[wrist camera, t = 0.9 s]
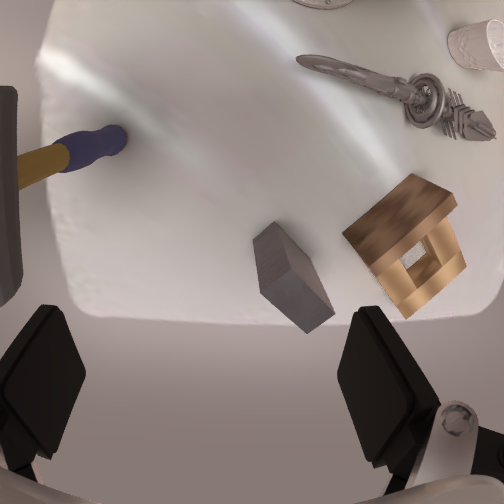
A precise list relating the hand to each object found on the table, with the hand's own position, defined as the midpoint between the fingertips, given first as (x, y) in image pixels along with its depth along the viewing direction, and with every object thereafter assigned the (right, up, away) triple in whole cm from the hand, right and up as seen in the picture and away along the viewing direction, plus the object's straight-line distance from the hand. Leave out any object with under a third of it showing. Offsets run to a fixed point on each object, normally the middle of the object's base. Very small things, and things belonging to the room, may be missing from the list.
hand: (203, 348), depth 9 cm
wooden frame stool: (+26, +4, +34) cm, 43 cm away
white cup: (+34, +35, +20) cm, 53 cm away
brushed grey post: (+6, +3, +34) cm, 34 cm away
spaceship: (+23, +24, +25) cm, 42 cm away
